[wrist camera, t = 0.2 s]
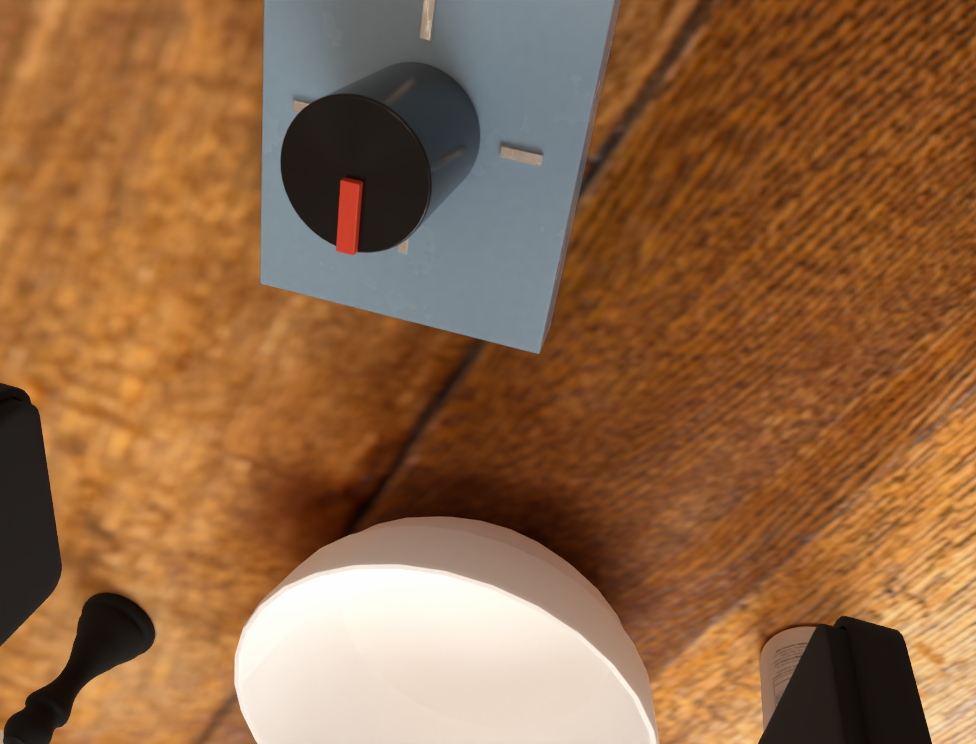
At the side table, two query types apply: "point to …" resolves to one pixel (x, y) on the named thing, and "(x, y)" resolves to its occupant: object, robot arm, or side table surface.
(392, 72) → the dial knob
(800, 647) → the pill bottle
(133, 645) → the chess piece
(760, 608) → the side table surface
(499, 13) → the dial base
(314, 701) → the bowl
